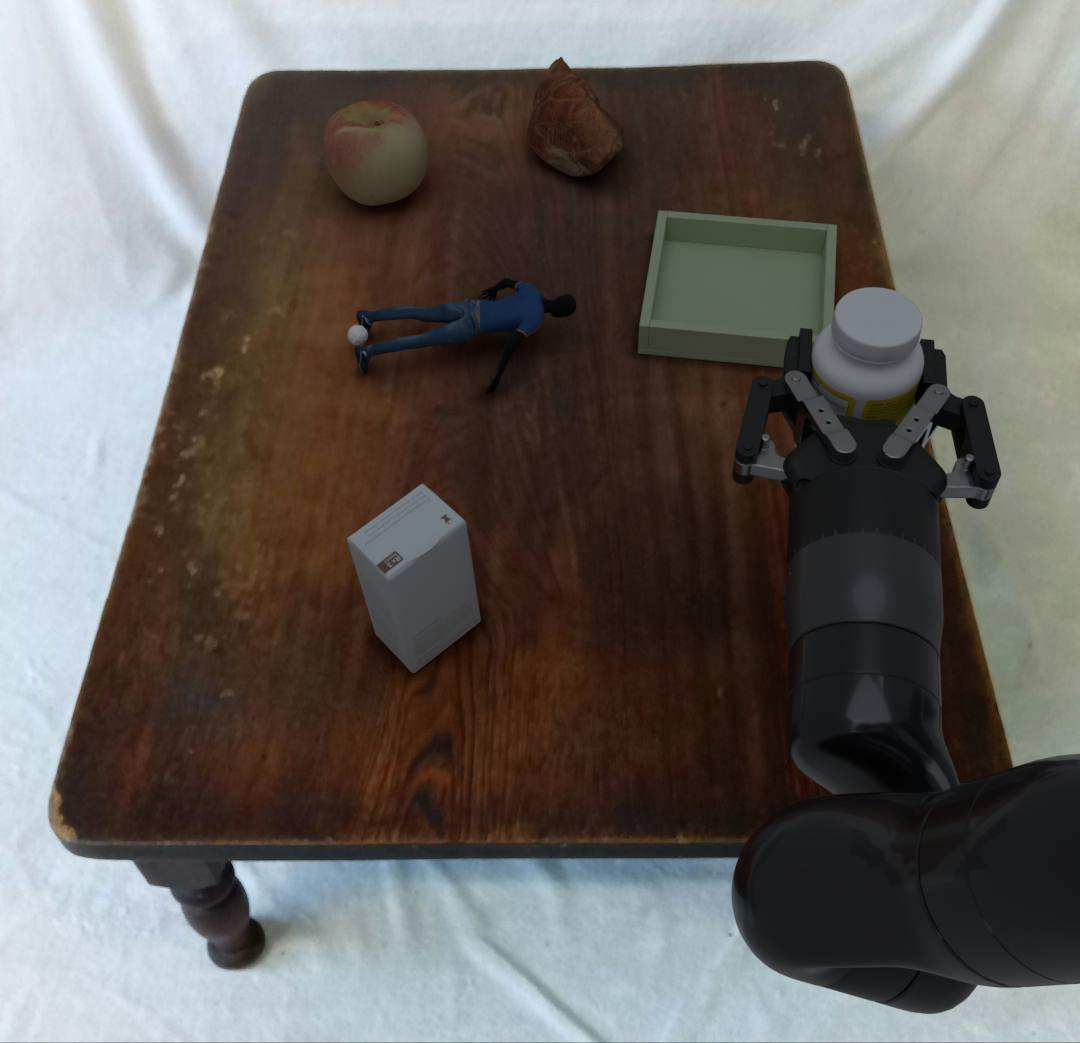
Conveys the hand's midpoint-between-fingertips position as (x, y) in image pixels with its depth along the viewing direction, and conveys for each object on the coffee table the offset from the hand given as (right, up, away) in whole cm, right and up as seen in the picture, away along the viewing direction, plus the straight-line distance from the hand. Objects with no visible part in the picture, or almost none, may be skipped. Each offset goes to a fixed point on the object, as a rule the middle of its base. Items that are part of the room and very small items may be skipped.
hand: (863, 344), depth 69 cm
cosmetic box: (-26, -18, +10) cm, 33 cm away
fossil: (-15, +24, +40) cm, 49 cm away
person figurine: (-25, +3, +26) cm, 36 cm away
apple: (-33, +19, +37) cm, 53 cm away
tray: (-3, +8, +27) cm, 29 cm away
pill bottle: (0, -6, +4) cm, 7 cm away
